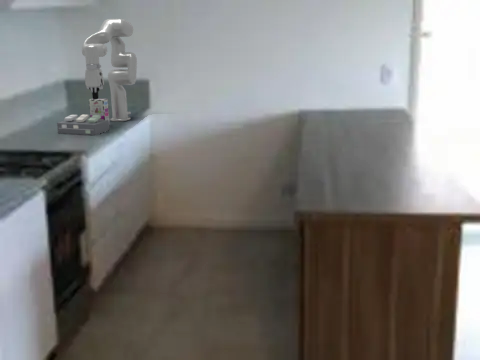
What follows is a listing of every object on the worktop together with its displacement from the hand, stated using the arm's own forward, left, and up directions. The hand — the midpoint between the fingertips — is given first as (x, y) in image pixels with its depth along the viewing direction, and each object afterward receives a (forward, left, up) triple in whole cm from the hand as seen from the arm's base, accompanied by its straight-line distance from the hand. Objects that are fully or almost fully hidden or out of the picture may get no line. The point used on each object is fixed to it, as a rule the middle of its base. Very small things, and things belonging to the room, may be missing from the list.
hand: (95, 99), depth 403 cm
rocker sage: (+3, 0, -11) cm, 11 cm away
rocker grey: (+3, -16, -11) cm, 20 cm away
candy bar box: (-16, -9, -19) cm, 26 cm away
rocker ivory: (+3, -8, -11) cm, 14 cm away
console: (+3, -8, -19) cm, 21 cm away
